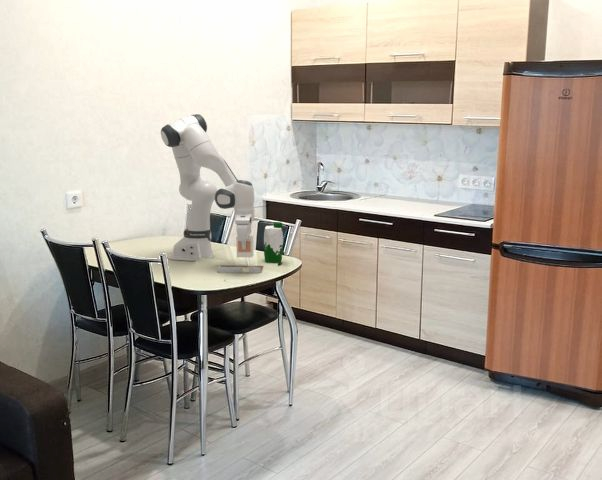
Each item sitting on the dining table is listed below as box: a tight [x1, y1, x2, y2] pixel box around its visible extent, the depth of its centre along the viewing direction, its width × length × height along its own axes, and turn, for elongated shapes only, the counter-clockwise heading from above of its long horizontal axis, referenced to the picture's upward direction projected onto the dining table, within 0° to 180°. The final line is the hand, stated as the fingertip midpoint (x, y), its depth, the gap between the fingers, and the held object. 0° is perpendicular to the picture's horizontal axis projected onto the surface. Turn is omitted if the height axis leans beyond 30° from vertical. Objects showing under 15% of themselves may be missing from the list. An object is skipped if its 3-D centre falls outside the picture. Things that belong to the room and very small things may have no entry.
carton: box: [235, 235, 254, 259], centre depth 286 cm, size 7×5×9 cm
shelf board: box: [216, 264, 264, 274], centre depth 291 cm, size 20×14×1 cm
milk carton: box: [263, 221, 284, 266], centre depth 306 cm, size 9×9×20 cm
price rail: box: [217, 266, 261, 274], centre depth 284 cm, size 19×1×2 cm, turn 89°
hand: (245, 247), depth 286 cm, fingers closed on carton, 5 cm apart
